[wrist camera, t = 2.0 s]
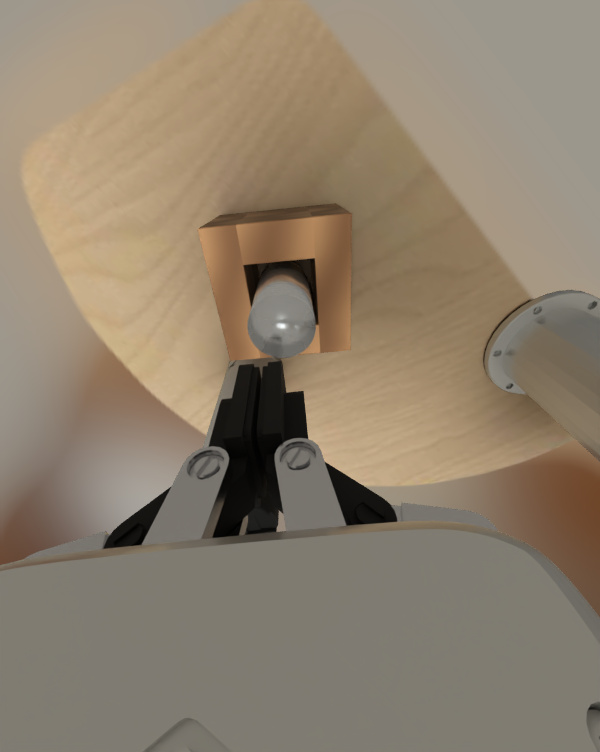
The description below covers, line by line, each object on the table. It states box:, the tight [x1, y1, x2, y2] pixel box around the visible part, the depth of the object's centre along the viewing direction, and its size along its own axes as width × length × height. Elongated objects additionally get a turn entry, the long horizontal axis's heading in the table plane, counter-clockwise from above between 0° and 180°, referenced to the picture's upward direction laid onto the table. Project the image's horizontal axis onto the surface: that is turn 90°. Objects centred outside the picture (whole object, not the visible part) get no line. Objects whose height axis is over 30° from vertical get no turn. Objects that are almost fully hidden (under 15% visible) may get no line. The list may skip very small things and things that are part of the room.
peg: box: [247, 261, 316, 358], centre depth 21 cm, size 4×4×8 cm
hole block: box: [198, 204, 352, 361], centre depth 26 cm, size 10×10×8 cm
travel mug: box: [203, 357, 283, 535], centre depth 27 cm, size 6×7×20 cm
